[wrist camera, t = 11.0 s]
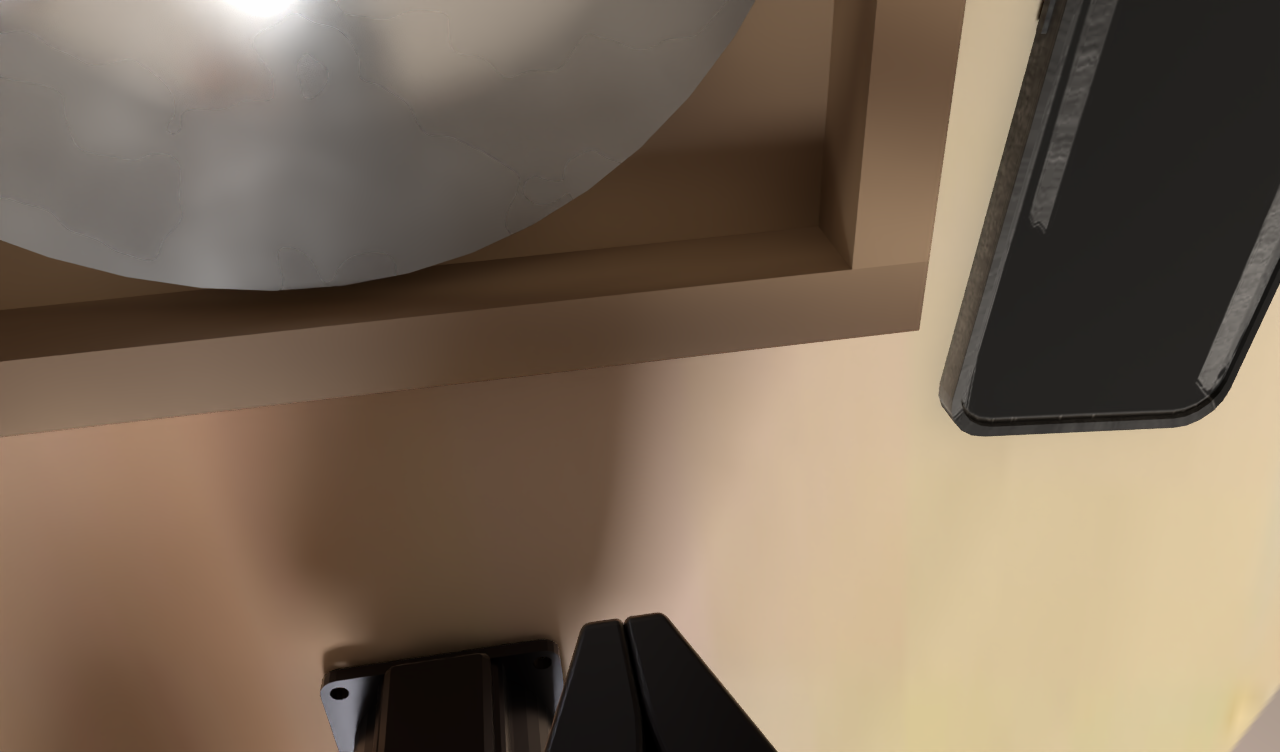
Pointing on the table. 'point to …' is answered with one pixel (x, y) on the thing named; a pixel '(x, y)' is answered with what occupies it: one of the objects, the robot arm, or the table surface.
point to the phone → (1125, 222)
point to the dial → (324, 126)
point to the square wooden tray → (565, 251)
